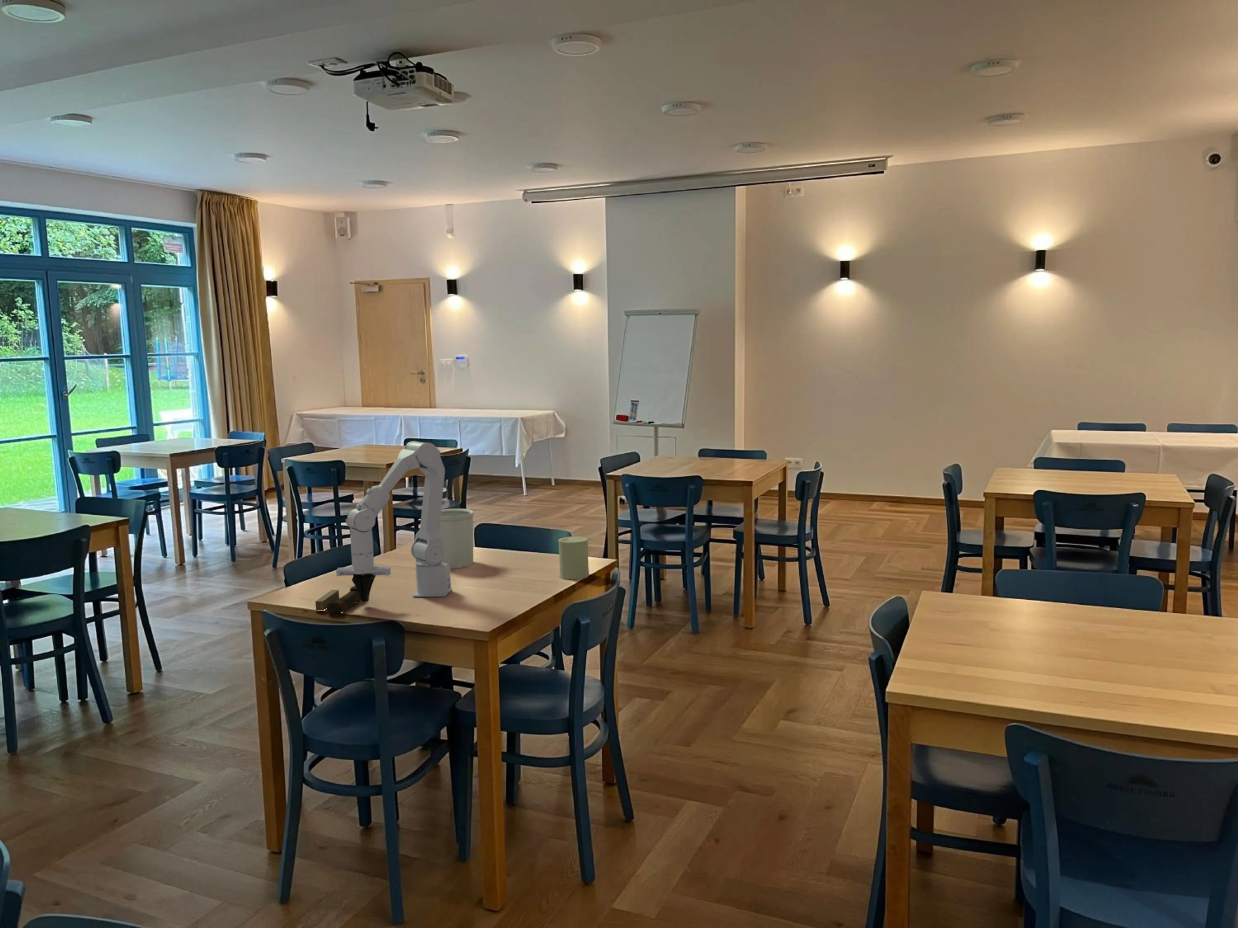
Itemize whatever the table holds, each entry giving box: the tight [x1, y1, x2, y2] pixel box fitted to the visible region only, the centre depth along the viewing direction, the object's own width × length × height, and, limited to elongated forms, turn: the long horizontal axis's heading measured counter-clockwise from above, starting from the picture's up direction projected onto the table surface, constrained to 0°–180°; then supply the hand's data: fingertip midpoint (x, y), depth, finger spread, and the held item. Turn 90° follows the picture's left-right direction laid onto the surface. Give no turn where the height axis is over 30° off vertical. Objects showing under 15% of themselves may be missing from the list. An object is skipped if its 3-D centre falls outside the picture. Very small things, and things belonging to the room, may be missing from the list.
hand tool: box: [326, 585, 362, 617], centre depth 247 cm, size 19×4×5 cm, turn 170°
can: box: [557, 536, 590, 580], centre depth 275 cm, size 9×9×12 cm
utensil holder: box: [439, 508, 474, 570], centre depth 294 cm, size 15×15×18 cm
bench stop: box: [314, 589, 340, 611], centre depth 248 cm, size 2×12×3 cm, turn 177°
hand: (365, 600), depth 246 cm, fingers closed
